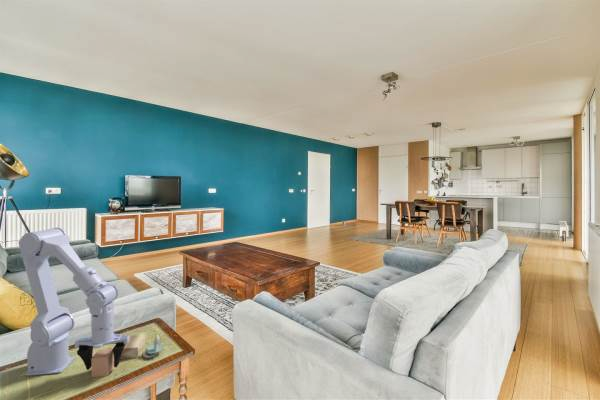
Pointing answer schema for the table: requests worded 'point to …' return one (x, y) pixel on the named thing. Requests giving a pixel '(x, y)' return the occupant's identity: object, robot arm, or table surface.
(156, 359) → the table surface
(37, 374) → the robot arm
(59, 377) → the table surface
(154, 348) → the pacifier
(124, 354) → the birch block
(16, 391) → the table surface
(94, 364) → the terracotta block
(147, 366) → the table surface
